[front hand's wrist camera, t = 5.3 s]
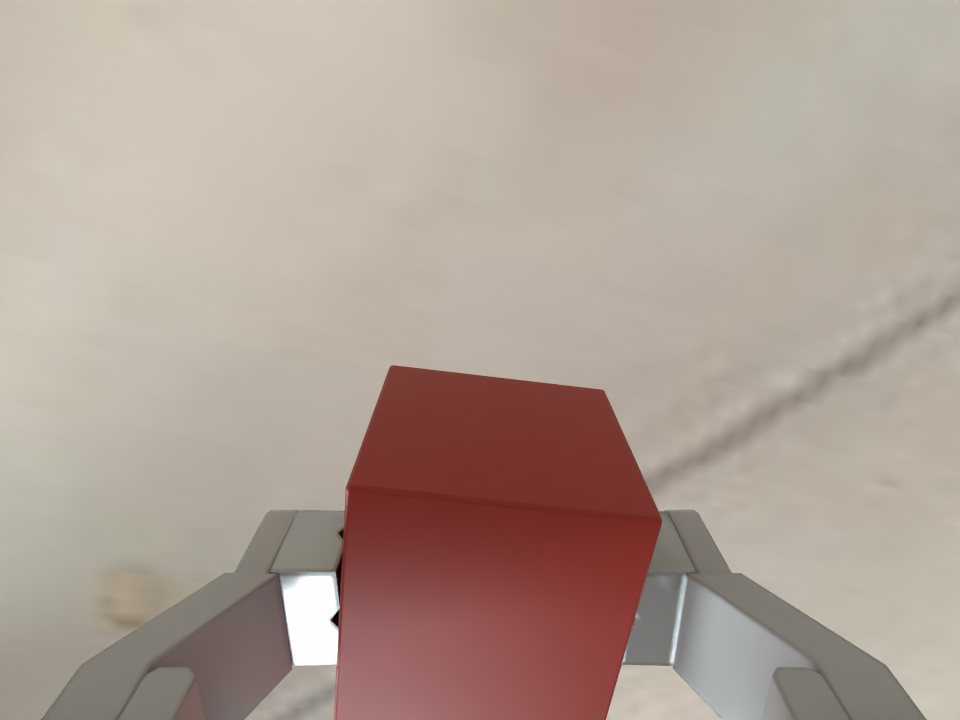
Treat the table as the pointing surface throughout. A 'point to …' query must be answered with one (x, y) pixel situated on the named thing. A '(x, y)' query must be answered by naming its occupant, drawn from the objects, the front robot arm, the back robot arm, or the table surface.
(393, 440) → the block
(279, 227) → the table surface
